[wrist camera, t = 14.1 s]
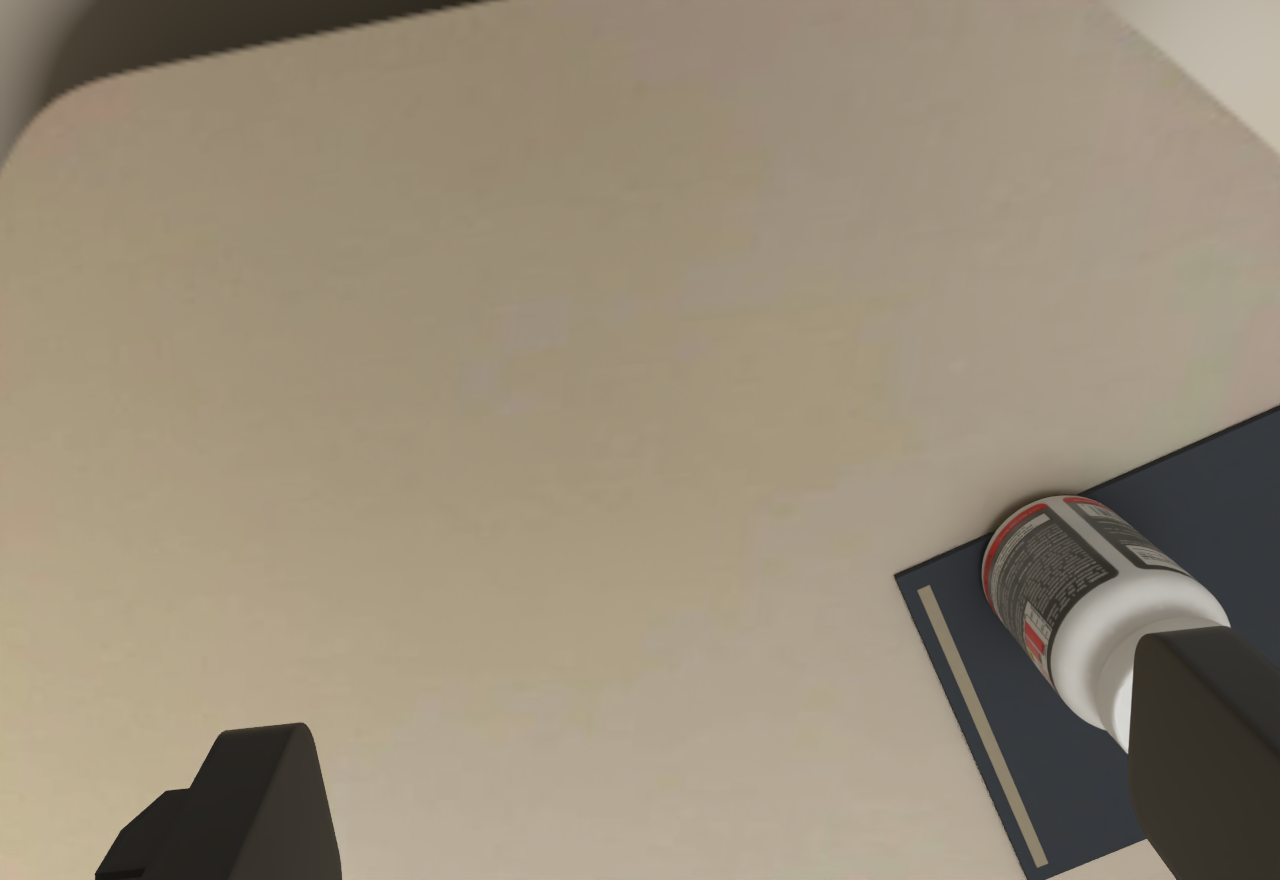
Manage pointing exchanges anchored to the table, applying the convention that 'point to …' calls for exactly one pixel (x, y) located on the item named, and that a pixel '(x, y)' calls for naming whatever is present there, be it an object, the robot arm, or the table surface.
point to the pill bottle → (1088, 601)
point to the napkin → (1023, 698)
